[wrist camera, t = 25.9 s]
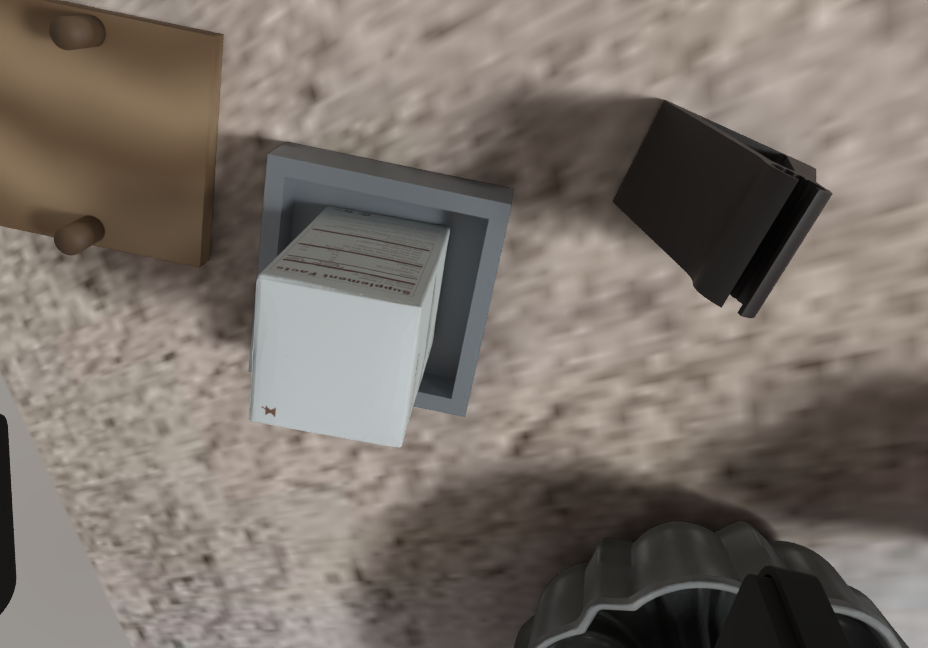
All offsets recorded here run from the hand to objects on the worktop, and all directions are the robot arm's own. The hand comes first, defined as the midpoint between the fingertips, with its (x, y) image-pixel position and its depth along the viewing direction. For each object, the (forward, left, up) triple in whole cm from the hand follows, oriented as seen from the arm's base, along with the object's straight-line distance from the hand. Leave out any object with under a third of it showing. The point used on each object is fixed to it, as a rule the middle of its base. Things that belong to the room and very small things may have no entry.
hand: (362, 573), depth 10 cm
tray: (+10, -5, -36) cm, 38 cm away
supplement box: (+10, -5, -35) cm, 37 cm away
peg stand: (+5, -22, -36) cm, 43 cm away
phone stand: (+1, +12, -36) cm, 38 cm away
